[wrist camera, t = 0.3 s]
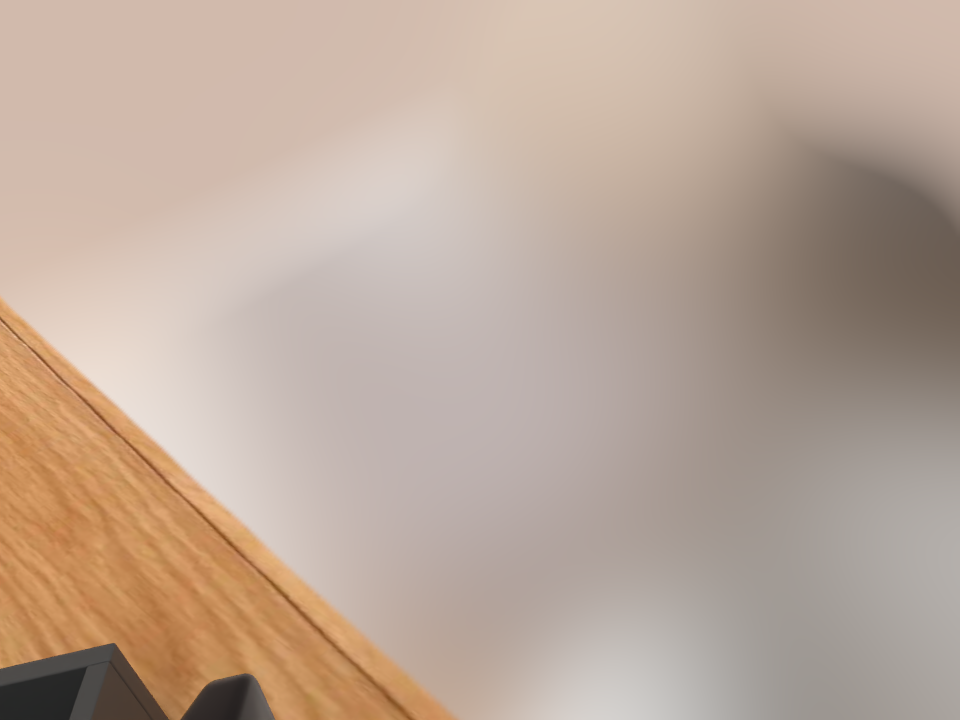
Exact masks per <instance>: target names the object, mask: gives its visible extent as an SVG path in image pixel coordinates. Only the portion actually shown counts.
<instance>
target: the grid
mask: <svg viewBox="0 0 960 720" xmlns="http://www.w3.org/2000/svg"><path fill="white" fill-rule="evenodd" d="M0 720H169V719H168V718H167V716H166V715H165V714H164V712H163V711H162V709H161V708H160V706H159V705H158V704H157V702H156V701H155V699H154V698H153V697H152V695H151V694H150V692H149V691H148V689H147V688H146V687H145V685H144V684H143V682H142V681H141V679H140V678H139V677H138V675H137V674H136V672H135V671H134V670H133V668H132V667H131V665H130V664H129V662H128V661H127V660H126V658H125V657H124V655H123V654H122V653H121V651H120V650H119V648H118V647H117V645H116V644H115V643H111V644H107V645H103V646H98V647H94V648H90V649H85V650H81V651H76V652H72V653H68V654H63V655H59V656H55V657H50V658H46V659H41V660H37V661H33V662H28V663H24V664H20V665H15V666H11V667H7V668H2V669H0Z"/></svg>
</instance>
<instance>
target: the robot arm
mask: <svg viewBox="0 0 960 720" xmlns="http://www.w3.org/2000/svg"><path fill="white" fill-rule="evenodd" d="M181 720H275V718H274V716H273V714H272V712H271V709H270V707H269V705H268V703H267V701H266V698H265V696H264V694H263V692H262V690H261V687H260V685H259V683H258V681H257V680H256V678H255V677H254V676H253V675H251V674H240V675H236V676H231V677H227V678H222V679H218V680H214V681H212V682H210V683H209V684H208V685H206V686H205V687H204V688H203V690H202V691H201V692H200V694H199V695H198V696H197V698H196V699H195V700H194V702H193V703H192V705H191V706H190V707H189V709H188V710H187V711H186V713H185V714H184V716H183V717H182V718H181Z"/></svg>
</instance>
